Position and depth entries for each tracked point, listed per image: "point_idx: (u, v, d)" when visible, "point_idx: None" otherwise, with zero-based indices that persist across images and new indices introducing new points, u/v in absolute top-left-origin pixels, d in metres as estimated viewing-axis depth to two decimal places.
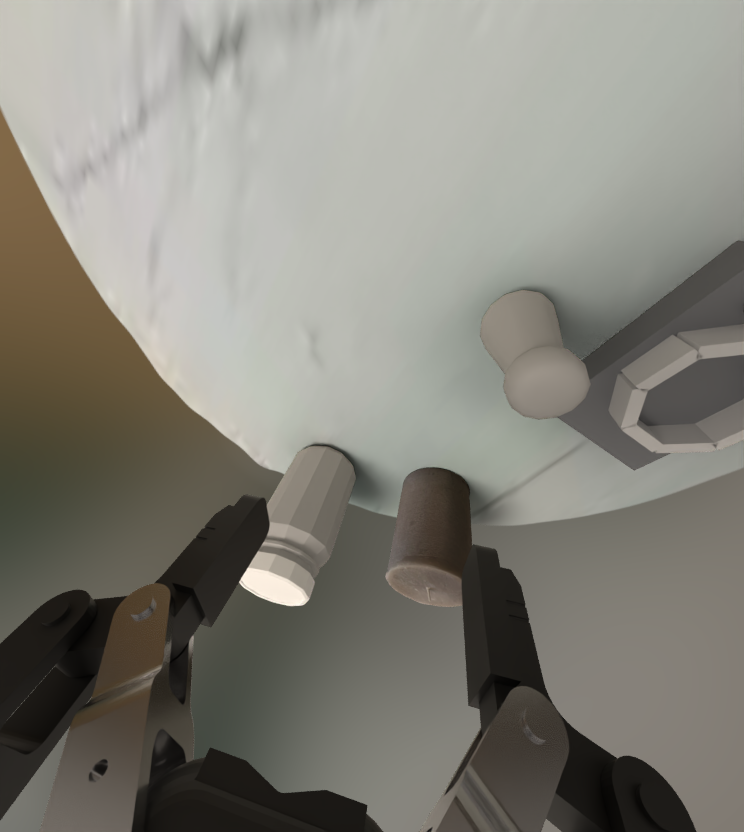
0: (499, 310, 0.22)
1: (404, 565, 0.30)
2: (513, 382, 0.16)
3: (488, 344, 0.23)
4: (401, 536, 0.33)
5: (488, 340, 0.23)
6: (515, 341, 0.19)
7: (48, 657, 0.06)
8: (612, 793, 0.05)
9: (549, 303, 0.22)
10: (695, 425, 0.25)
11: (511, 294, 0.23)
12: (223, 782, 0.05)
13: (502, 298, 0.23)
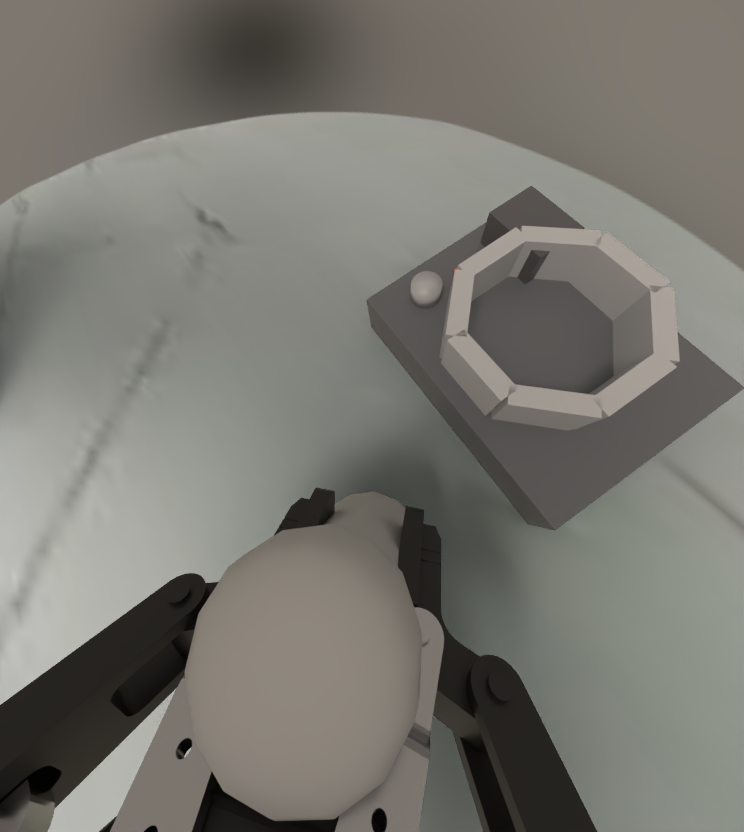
0: None
1: None
2: (218, 780, 0.05)
3: None
4: None
5: None
6: None
7: (161, 639, 0.07)
8: (473, 696, 0.06)
9: (340, 502, 0.15)
10: (615, 319, 0.16)
11: None
12: None
13: None
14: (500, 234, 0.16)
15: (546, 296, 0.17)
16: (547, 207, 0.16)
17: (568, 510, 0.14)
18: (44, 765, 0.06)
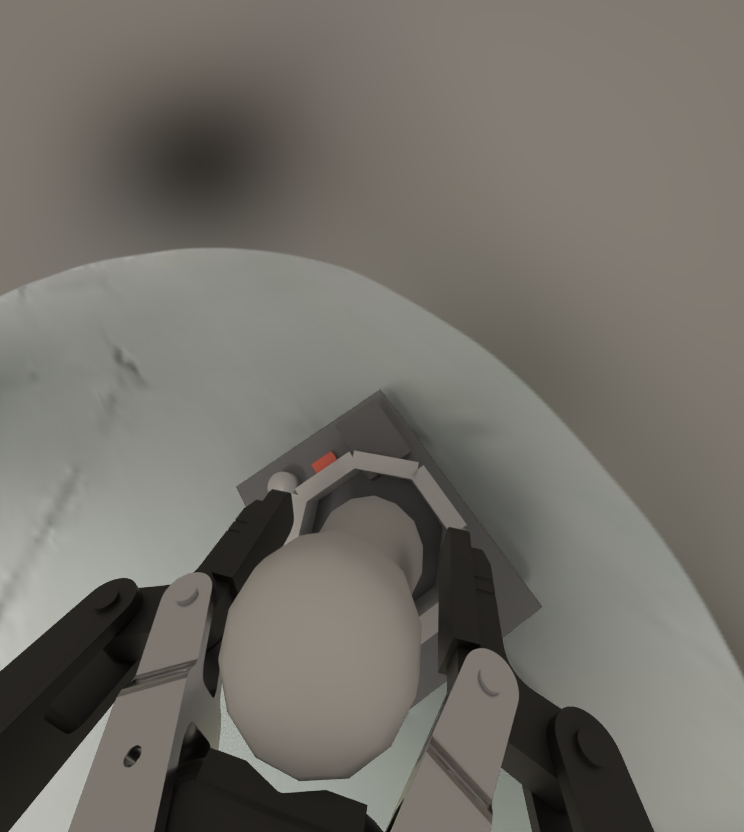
0: None
1: None
2: (250, 748, 0.05)
3: None
4: None
5: None
6: None
7: (93, 644, 0.07)
8: (556, 745, 0.06)
9: (342, 506, 0.15)
10: (442, 528, 0.17)
11: None
12: (223, 782, 0.05)
13: None
14: None
15: (390, 495, 0.18)
16: (383, 424, 0.18)
17: None
18: None
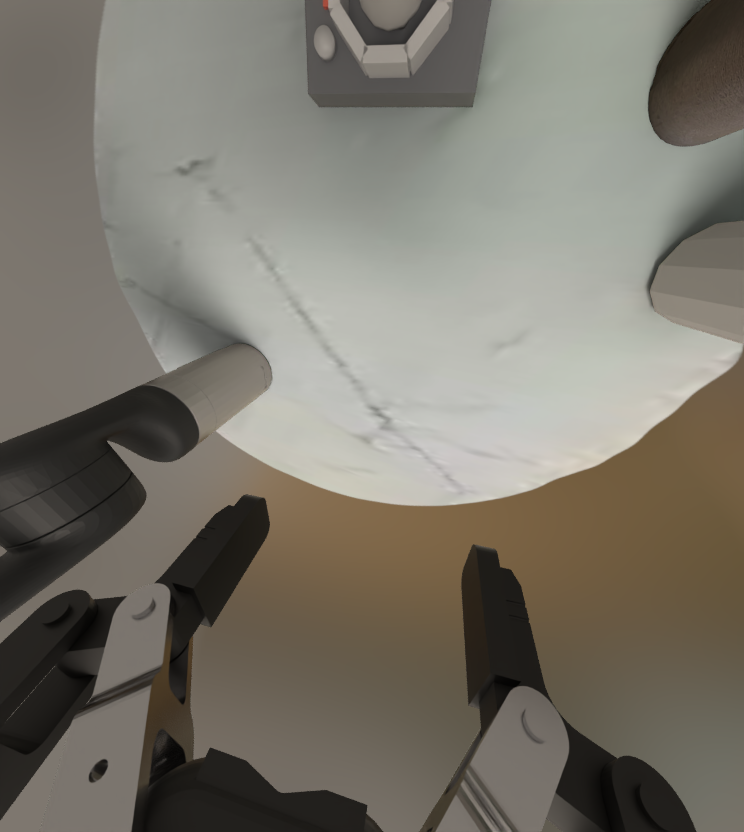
0: (380, 10, 0.22)
1: None
2: None
3: None
4: None
5: None
6: None
7: (48, 657, 0.06)
8: (612, 793, 0.05)
9: None
10: None
11: (369, 17, 0.23)
12: (223, 782, 0.05)
13: (376, 23, 0.23)
14: None
15: None
16: None
17: (474, 74, 0.25)
18: None
